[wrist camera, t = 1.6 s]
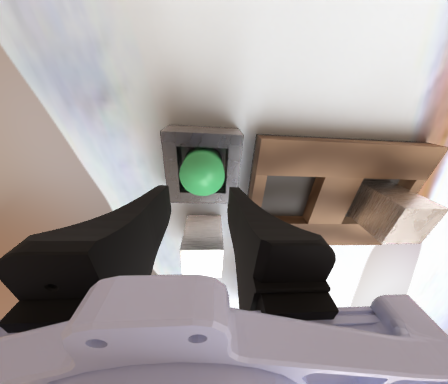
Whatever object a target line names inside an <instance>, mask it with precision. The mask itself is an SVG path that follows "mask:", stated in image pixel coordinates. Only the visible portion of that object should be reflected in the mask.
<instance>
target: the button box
mask: <svg viewBox="0 0 448 384" xmlns="http://www.w3.org/2000/svg"><path fill="white" fill-rule="evenodd" d="M160 135H161V143H162V151H163V160H164V168H165V177H166V185H167V186H169V194H170V203H228V199H229V187H238V183H239V174H240V165H241V155H242V146H243V137H244V135H243V134H242V132H241V131H240V130H239V129H238V128H220V127H200V126H180V125H168V126H167V127H166V128H164V129H163V130H161V131H160ZM195 147H205V148H213V149H214V150H216V151H217V152H218V153H219V154H220V156H221V158H222V161H223V167H224V173H225V179H224V183H223V185H222V187H221V188H220V189H219V190H218V191H217V192H215V193H214V194H211V195H208V196H198V195H194V194H192V193H190V192H189V191H187V190H186V189H185V188H184V187H183V185H182V184H181V181H180V177H179V172H180V168H181V165H182V163H183V161H184V159H185V156H186V155H187V153H188V152H189V151H190V150H191V149H193V148H195Z"/></svg>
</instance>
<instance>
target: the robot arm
mask: <svg viewBox="0 0 448 384" xmlns="http://www.w3.org/2000/svg"><path fill="white" fill-rule="evenodd" d="M227 212H228V224H229V229H230V234H231V238H232V243H233V248H234V254H235V262H236V272H237V283H238V296H239V309H235V308H230V307H229V295H228V292H227V289H226V286H225V285H224V284H223V283H221V282H220V281H218V280H217V279H215V278H213V277H211V276H205V275H198V274H186V275H151V273H152V269H153V265H154V261H155V258H156V254H157V251H158V249H159V246H160V244H161V241H162V239H163V236H164V233H165V231H166V228H167V226H168V223H169V219H170V215H171V203H170V194H169V186H164V185H159V186H157V187H155V188H154V189H152V190H150V191H149V192H147V193H146V194H144V195H142V196H141V197H139V198H137V199H136V200H134V201H132V202H130V203H129V204H127V205H125V206H123V207H121V208H119V209H116V210H114V211H112V212H110V213H107V214H105V215H102V216H100V217H96V218H94V219H91V220H88V221H85V222H82V223H79V224H75V225H71V226H68V227H64V228H60V229H56V230H52V231H48V232H43V233H39V234H34V235H30V236H28V237H27V238H26V239H25V240H24V241H22V242H21V243H19V244H18V245H17V246H16V247H14V248H13V249H12V250H11V251H9V252H8V253H7V254H5V255H4V256H3V257H2V258H0V280H1V281H2V282H3V284H4V285H6V287H7V288H8V289H9V290H10V291H11V292H12V293H13V294H14V295H15V297H16V298H17V299H18V300H20V301H19V302H18V303H17V304H16V305H15V306H14V307H13V308H12V309H11V310H10V311H9V312H8V313H7V314H6V315H5V317H4V318H3V319H2V320H0V384H448V335H447V334H446V333H445V332H444V331H443V330H442V329H441V328H440V327H439V326H438V325H437V324H436V323H435V322H434V321H433V320H432V319H431V318H430V317H429V316H428V315H427V314H426V313H425V312H424V311H423V310H422V309H421V308H420V307H419V306H418V305H417V304H416V303H415V302H414V301H413V300H412V299H411V298H410V297H409V296H408V295H384V296H380V297H377V298H376V299H375V300H374V301H373V302H372V304H371V306H370V307H344V308H337V307H336V305H335V303H334V302H333V300H332V298H331V296H330V295H329V293H328V292H329V291H330V287H329V285H328V284H327V282H326V279H327V277H328V275H329V273H330V272H331V270H332V268H333V266H334V263H335V253H334V251H333V250H332V248H331V247H330V246H329V245H328V243H327V242H326V241H325V239H324V238H323V237H322V236H321V235H319V234H316V233H313V232H310V231H307V230H304V229H301V228H298V227H296V226H293V225H291V224H289V223H287V222H284V221H282V220H280V219H279V218H277V217H275V216H273V215H271V214H270V213H268V212H267V211H265V210H264V209H262V208H261V207H260V206H258V205H257V204H256V203H254V202H253V201H252V200H251V199H250V198H249V197H248V196H247V195H246V194H245V193H244V192H243V191H242V190H241V189H240V188H239V187H229V199H228V211H227Z"/></svg>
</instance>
